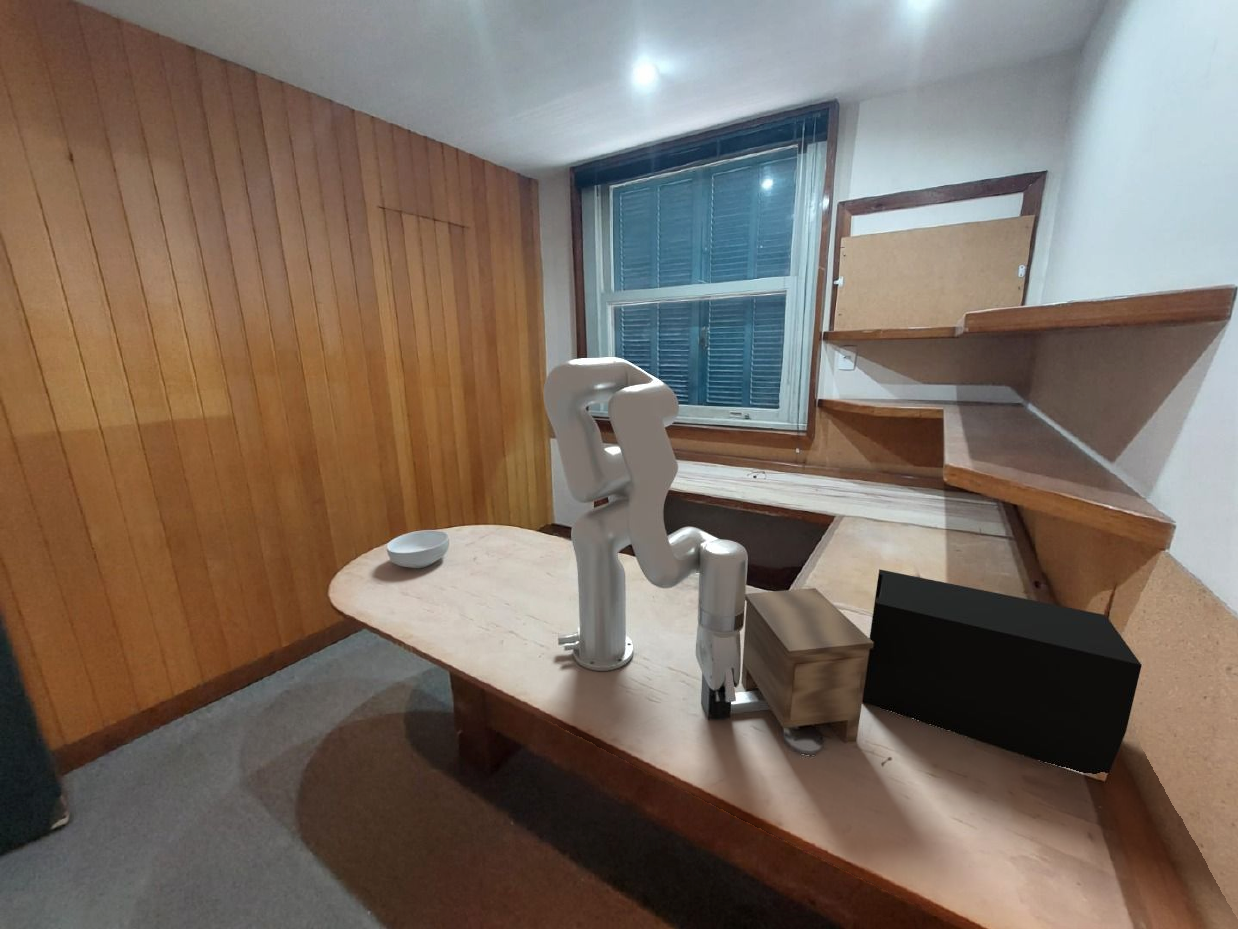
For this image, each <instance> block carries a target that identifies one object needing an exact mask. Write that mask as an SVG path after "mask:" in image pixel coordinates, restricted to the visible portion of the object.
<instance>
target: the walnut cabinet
mask: <svg viewBox="0 0 1238 929" xmlns="http://www.w3.org/2000/svg"><path fill="white" fill-rule="evenodd" d="M745 602H746V603H745V618H744V620H745V621H744V637H743V652H742V663H741V665H742V666H741V667H742V668H741V678H740V683H741V684H742V685H743V687H744V689H745V690H752V689H759V690H760V691H761V693H762V695H763V696H764V698H765V700H766V701H767V703H768V705H769V706H770V708H771V709H770V710H771V711H772V713H773V715H774V716H775V717H776V719H777V721H778V722H779V725H780V726H781V727H782V729H784V728H787V727H795V726H803V725H811V724H812V725H818V724H824V723H825V724H827V723H830V725H831V726H832V727H834V728H833V729H834V730H835V732H836V731H837V732H838V733H837V732H836V733H837V734H838V736H839V737H840V738H841V740H842V741H843V743H844V742H845V743H844V744H847V742H850V743H856V742H858V741H857V740H858V735H859V734H858V733H859V727H860V719H861V714H862V713H861V712H862V706H863V705H862V704H863V703H862V699H863V692H864V685H865V678H866V671H867V664H868V657H869V650H870V649H872V648H873V645H874V642H873V641H872V640H870V639H869V638H870V637H869V636H867V635H866V634H865V633H864V632H863V631H862V630H861V629H860V628H859V627H858V626H857V625H856V624H855V623H854V622H852V621H851V620H850V619H849V618H848V617H847V616H846V615H845V614H844V613H842V611H841V610H839V608H837V607H836V606H835V605H834V604H833V603H832V602H831V601H830V600H829V599H828V598H826V597H825V596H824V595H823V594H822V593H821V592H820V591H819V590H818V589H817V588H816V587H812V588H801V589H789V590H777V591H776V590H774V591H764V592H763V591H762V592H751V593H746V594H745ZM759 690H758V691H759Z"/></svg>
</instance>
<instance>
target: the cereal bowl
mask: <svg viewBox="0 0 1238 929" xmlns="http://www.w3.org/2000/svg"><path fill="white" fill-rule="evenodd" d="M449 547H450V536H449V534H448V533H446V532H445V531H443V530H439V529H438V530H436V529H426V530H425V529H424V530H417V531H412V532H408V533H404V534H401V535H399V536H397V537H395V538H393V539H391V540H390V541H389V542H388V543H387V544H386V548H385V549H386V552H387V556H388V558H389V560H390V561H391V562H392V563H394V564H395V565H397V566H399V567H404V568H410V569H421V568H425V567H426V568H427V567H429V566H431V565H433V564H434V563H435V562H437V561H439V560H440V559H442V558H443V557H444V556H445V555H446V553H447V552H448V550H449Z"/></svg>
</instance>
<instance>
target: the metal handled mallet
mask: <svg viewBox="0 0 1238 929" xmlns="http://www.w3.org/2000/svg"><path fill="white" fill-rule="evenodd" d="M721 692H725V687H720V688H719V693H721ZM735 696H736V701H735V702H731V714H730V716H732V715H733V714H741V713H750V712H761V711H769V710H772V709H771V708H770V706H769V705H768V703H767V701H766V700H765V698H764V696H763V695H762V693H761V691H760V690H752V691H751V690H750V691H742V692H735ZM712 697H714V690H712V689H711V688H710V687H709V685H708V684H707V681H706V679H705V677H704V675H703V673H702V672H701V694H700V704H701V706H702V709H703V711H704V714H705V716H706V718H707V720H714V719H713V718H712V716H711V712H712ZM729 718H730V717H728V719H729ZM720 719H721V718H719V719H718V720H720Z"/></svg>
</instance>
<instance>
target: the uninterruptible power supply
mask: <svg viewBox="0 0 1238 929" xmlns="http://www.w3.org/2000/svg"><path fill="white" fill-rule="evenodd" d="M876 583H877V584H876V591H875V597H874V604H873V611H872V616H871V617H872V618H871V624H870V625H871V626H870V633H869V637H868V638H869V639H870V640H872V641H873V642H874V645H873V648H872V649H870V650H869V657H868V664H867V671H866V678H865V685H864V692H863V699H862V702H863V703H862V704H866V705H867V706H871V705H872V707H874V706H875V707H874V708H877V707H878V709H880V708H881V710H883V709H884V711H886V710H888V711H887V712H889V711H892V712H895V713H897V714H896V715H898V714H900V716H901V715H903V716H902V717H904V716H906V717H905V718H908V717H909V718H908V719H911V718H914V719H916V720H915V721H917V720H919V721H918V722H920V721H921V722H920V723H923V722H924V723H923V724H926V725H929V724H931V725H930V726H932V725H934V726H933V727H935V726H937V727H936V728H938V727H940V728H939V729H941V728H943V729H942V730H944V729H945V730H944V731H947V730H950V731H951V732H950V731H949V732H950V733H953V732H955V733H954V734H956V733H957V734H956V735H960V736H962V735H963V737H965V736H967V737H966V738H968V737H969V739H971V740H974V739H975V741H978V742H980V743H984V744H987V745H990V746H993V747H996V748H998V749H1002V750H1005V751H1008V752H1012V753H1014V754H1017V755H1020V756H1023V755H1024V756H1023V757H1027V758H1029V759H1032V760H1036V761H1038V760H1040V761H1039V762H1041V761H1042V763H1044V762H1047V763H1051V764H1055V765H1057V766H1061V767H1066V768H1070V769H1073V770H1076V771H1079V772H1083V773H1092V774H1097V773H1100V772H1105V773H1109V774H1110V772H1111V769H1112V766H1113V764H1114V762H1115V760H1116V757H1117V755H1118V752H1119V750H1120V747H1121V744H1122V743H1123V740H1124V737H1125V735H1126V732H1127V730H1128V725H1129V721H1130V718H1131V717H1130V716H1131V712H1132V708H1133V703H1134V700H1135V695H1136V692H1137V687H1138V683H1139V678H1140V673H1141V670H1142V666H1143V665H1142V663H1141V662H1140V660H1139V659H1138V658H1137V657H1136V655H1135V653H1134V652H1133V651H1132V649H1131V648H1130V647H1129V646H1128V644H1127V642H1126V641H1125V639H1124V638H1123V636H1121V634H1120V633H1119V631H1118V629H1116V628H1115V626H1114V625H1113V623H1112V622H1111V620H1110V619H1109V617H1108V616H1107V615H1106V614H1102V613H1097V612H1093V611H1092V612H1091V611H1088V610H1081V609H1078V608H1073V607H1069V606H1068V607H1067V606H1062V605H1059V604H1054V603H1048V602H1043V601H1037V600H1032V599H1029V598H1024V597H1023V598H1022V597H1017V596H1013V595H1008V594H1004V593H999V592H995V591H994V592H993V591H988V590H984V589H978V588H975V587H969V586H963V585H958V584H954V583H948V582H944V581H940V580H934V579H930V578H924V577H919V576H914V575H909V574H905V573H899V572H894V571H890V570H884V569H878V576H877V582H876ZM892 712H891V713H892ZM895 713H894V714H895ZM914 719H913V720H914ZM1047 763H1046V764H1047Z"/></svg>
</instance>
